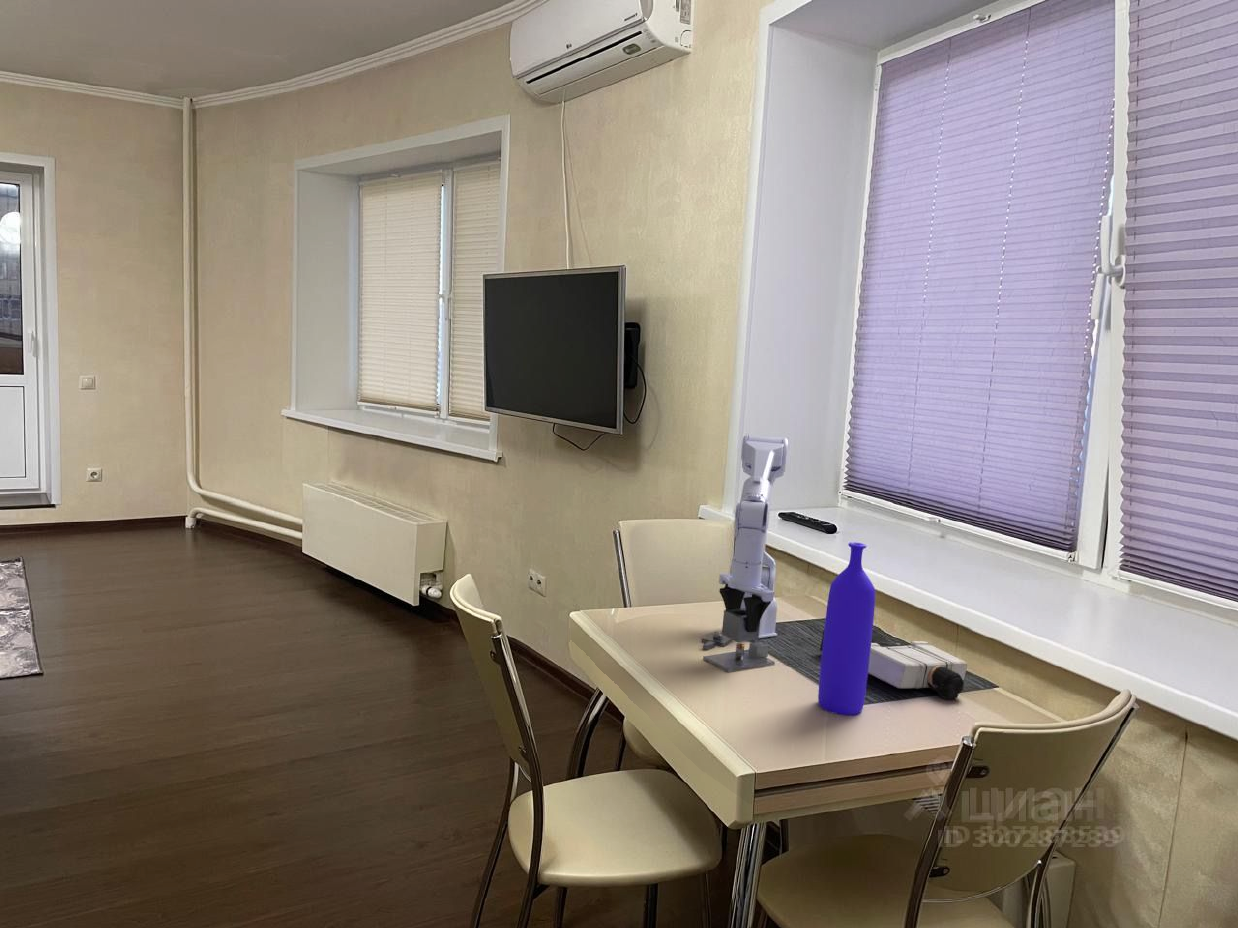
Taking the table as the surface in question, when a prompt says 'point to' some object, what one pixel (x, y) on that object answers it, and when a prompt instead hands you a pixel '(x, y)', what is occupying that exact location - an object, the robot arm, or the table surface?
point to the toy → (916, 666)
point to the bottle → (847, 639)
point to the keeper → (742, 658)
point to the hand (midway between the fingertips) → (742, 627)
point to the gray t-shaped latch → (715, 640)
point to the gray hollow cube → (737, 626)
